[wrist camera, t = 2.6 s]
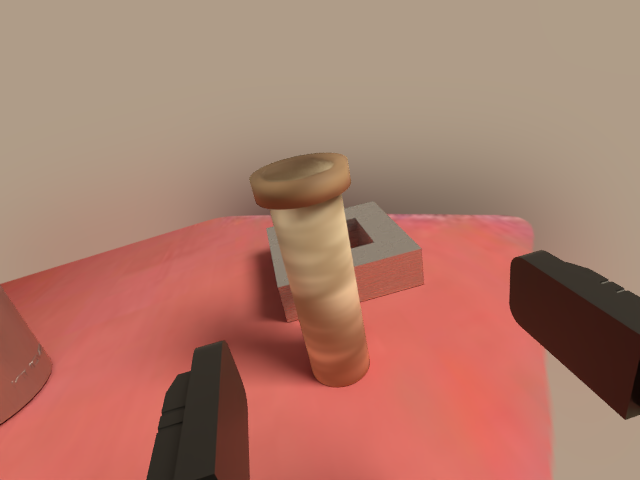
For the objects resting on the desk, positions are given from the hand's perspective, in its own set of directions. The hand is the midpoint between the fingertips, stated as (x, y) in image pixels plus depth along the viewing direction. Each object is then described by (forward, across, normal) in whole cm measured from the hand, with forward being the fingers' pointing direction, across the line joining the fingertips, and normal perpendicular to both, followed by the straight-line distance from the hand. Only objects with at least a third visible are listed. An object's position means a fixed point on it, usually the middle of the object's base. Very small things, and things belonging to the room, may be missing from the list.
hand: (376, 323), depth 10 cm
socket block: (+24, -3, +12) cm, 27 cm away
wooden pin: (+12, 0, +12) cm, 17 cm away
